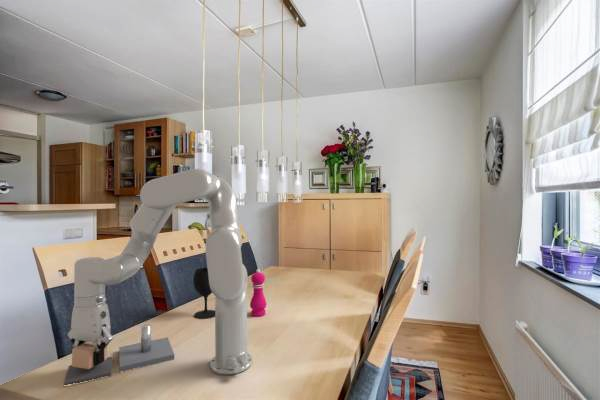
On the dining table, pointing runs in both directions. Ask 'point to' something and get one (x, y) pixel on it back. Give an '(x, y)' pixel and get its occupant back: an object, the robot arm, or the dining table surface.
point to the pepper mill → (258, 295)
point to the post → (145, 338)
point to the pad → (88, 372)
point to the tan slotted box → (85, 355)
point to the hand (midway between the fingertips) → (89, 361)
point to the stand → (145, 354)
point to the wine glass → (203, 292)
